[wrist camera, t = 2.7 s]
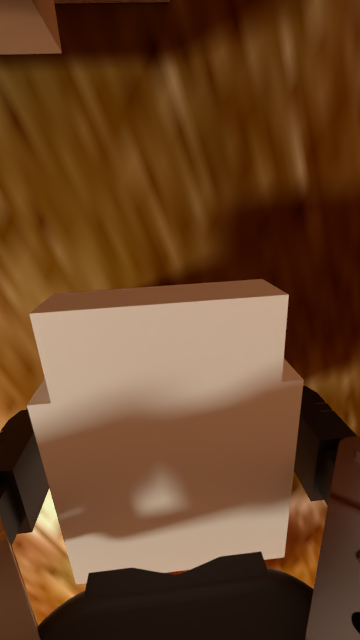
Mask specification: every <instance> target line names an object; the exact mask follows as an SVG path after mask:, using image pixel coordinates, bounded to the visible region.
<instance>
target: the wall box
mask: <svg viewBox="0 0 360 640" xmlns="http://www.w3.org/2000/svg"><path fill="white" fill-rule="evenodd" d="M288 299H289V294H287V293H285V292H284V291H282V290H280V289H278V288H277V287H275V286H273V285H272V284H270V283H268V282H267V281H265V280H263V279H254V280H240V281H225V282H211V283H197V284H182V285H168V286H153V287H139V288H125V289H110V290H96V291H82V292H67V293H55V294H53V295H52V296H51V297H50V298H48V299H47V300H46V301H45V302H43V303H42V304H41V305H40V306H38V307H37V308H36V309H35V310H33V311H32V312H31V313H30V318H31V322H32V327H33V331H34V335H35V339H36V343H37V347H38V351H39V355H40V360H41V364H42V368H43V372H44V376H45V379H44V380H43V382H42V383H41V385H40V386H39V388H38V389H37V391H36V392H35V394H34V395H33V397H32V398H31V400H30V401H29V403H28V404H27V408H28V412H29V416H30V419H31V423H32V426H33V430H34V434H35V437H36V441H37V444H38V448H39V452H40V455H41V459H42V463H43V466H44V470H45V473H46V477H47V481H48V484H49V488H50V491H51V495H52V499H53V502H54V506H55V509H56V513H57V517H58V520H59V524H60V528H61V531H62V535H63V538H64V542H65V546H66V549H67V553H68V556H69V560H70V564H71V567H72V571H73V574H74V578H75V582H76V584H83V583H87V579H88V574H89V573H92V572H100V571H108V570H116V569H124V568H138V569H143V570H149V571H155V572H160V573H167V572H175V571H183V570H190V569H193V568H195V567H198V566H200V565H202V564H204V563H207V562H209V561H211V560H213V559H216V558H218V557H220V556H228V555H236V554H244V553H252V552H260V551H261V552H262V555H263V558H264V560H267V559H275V558H283V557H284V555H285V546H286V537H287V528H288V519H289V510H290V500H291V491H292V482H293V473H294V464H295V455H296V446H297V437H298V427H299V418H300V409H301V400H302V391H303V382H304V380H303V379H302V378H301V376H300V375H299V374H298V373H297V372H296V371H295V370H294V369H293V368H292V367H291V365H290V364H289V363H288V362H287V361H286V360H285V359H284V349H285V336H286V324H287V311H288Z"/></svg>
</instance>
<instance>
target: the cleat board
mask: <svg viewBox="0 0 360 640" xmlns="http://www.w3.org/2000/svg"><path fill="white" fill-rule="evenodd" d="M138 2H170V0H0V55H5V54H54V53H62V50H61V43H60V37H59V30H58V24H57V17H56V11H55V4H54V3H138Z"/></svg>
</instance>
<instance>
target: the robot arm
mask: <svg viewBox="0 0 360 640" xmlns="http://www.w3.org/2000/svg"><path fill="white" fill-rule="evenodd" d="M294 472H295V473H296V475H297V477H298V479H299V481H300V482H301V484H302V486H303V488H304V490H305V492H306V493H307V495H308V497H309V499H310V501H317V500H325V502H326V504H327V505H328V508H327V514H326V520H325V526H324V532H323V538H322V543H321V549H320V555H319V561H318V567H317V573H316V578H315V584H314V589H312V588H311V587H309V586H308V585H307V584H305V583H304V582H302V581H300V580H299V579H297V578H295V577H293V576H291V575H289V574H287V573H285V572H282V571H279V570H276V569H272V568H267V567H266V565H265V562H264V558H263V555H262V552H261V551H260V552H252V553H244V554H236V555H228V556H220V557H218V558H216V559H213V560H211V561H209V562H207V563H204V564H202V565H200V566H198V567H195V568H193V569H191V570H189V571H186V572H184V573H182V574H179V575H171V574H166V573H160V572H155V571H149V570H143V569H138V568H124V569H116V570H108V571H100V572H92V573H89V574H88V579H87V584H86V590H85V591H84V592H81V593H79V594H77V595H76V596H74V597H72V598H70V599H69V600H67V601H66V602H64V603H63V604H62V605H60V606H59V607H58V608H56V609H55V610H54V611H53V612H52V613H51V614H50V615H48V616H47V617H46V618H45V619H44V620H43V621H42V622H41V623H40V624H39V625H38V622H37V619H36V616H35V614H34V611H33V608H32V605H31V602H30V599H29V596H28V593H27V590H26V587H25V584H24V581H23V578H22V575H21V572H20V569H19V566H18V563H17V560H16V557H15V554H14V551H13V548H12V544H13V542H14V539H15V537H16V535H17V534H20V533H29V532H32V531H33V528H34V526H35V523H36V520H37V518H38V515H39V513H40V510H41V508H42V505H43V502H44V500H45V497H46V495H47V492H48V490H49V484H48V481H47V477H46V473H45V470H44V466H43V463H42V459H41V455H40V452H39V448H38V444H37V441H36V437H35V434H34V430H33V426H32V423H31V419H30V416H29V412H28V408H27V409H26V410H21V411H20V412H18V413H17V414H16V415H15V416H13V417H12V418H11V419H9V420H8V422H7V423H6V424H5V426H4V427H3V428H2V430H1V433H0V640H360V437H357V436H356V434H355V433H354V432H353V431H352V430H351V429H350V428H349V427H348V426H347V425H346V424H345V423H344V422H343V420H342V419H341V418H340V417H339V416H338V415H337V414H336V413H335V412H334V411H332V409H331V408H330V406H329V405H328V404H327V403H325V401H324V400H323V399H322V398H321V397H320V396H319V395H318V393H316V392H315V391H313V390H311V389H310V388H308V387H306V386H303V391H302V400H301V409H300V418H299V427H298V437H297V446H296V455H295V464H294Z"/></svg>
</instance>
